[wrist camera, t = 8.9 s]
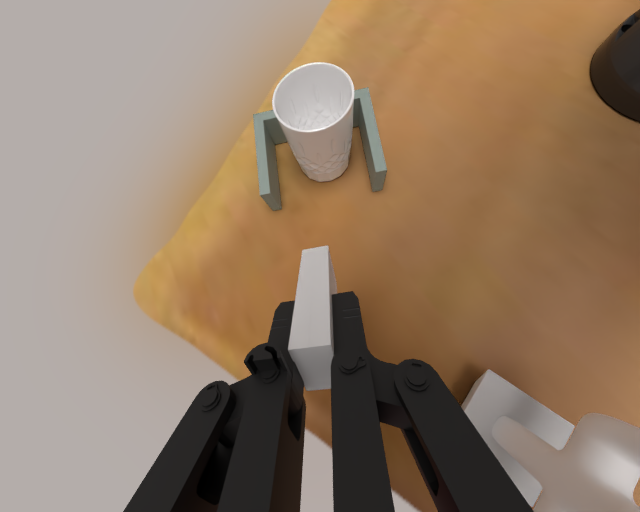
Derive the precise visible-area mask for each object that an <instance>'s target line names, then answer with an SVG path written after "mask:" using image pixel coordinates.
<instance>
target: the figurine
mask: <svg viewBox="0 0 640 512" xmlns="http://www.w3.org/2000/svg"><path fill="white" fill-rule="evenodd" d="M461 408H462V409H463V411H464V412H465V414H466V415H467V416H468V418H469V419H470V421H471V422H472V424H473V425H474V427H475V428H476V429H477V431H478V432H479V434H480V435H481V437H482V438H483V439H484V441H485V442H486V444H487V445H488V447H489V448H490V449H491V451H492V452H493V454H494V455H495V457H496V458H497V459H498V461H499V462H500V464H501V465H502V467H503V468H504V470H505V471H506V472H507V474H508V475H509V477H510V478H511V480H512V481H513V482H514V484H515V485H516V487H517V488H518V490H519V491H520V492H521V494H522V495H523V497H524V498H525V500H526V501H527V503H528V504H529V505H530V506H531V507H533V506H534V504H535V502H536V500H537V498H538V496H539V494H540V492H541V490H542V489H543V491H542V493H541V495H540V497H539V499H538V501H537V503H536V505H535V507H534V509H533V511H534V512H640V506H638V505H636V504H635V502H634V499H633V491H634V488H635V486H636V484H637V482H638V480H639V478H640V428H639V427H636V426H634V425H631V424H629V423H627V422H624V421H622V420H619V419H616V418H614V417H611V416H607V415H604V414H599V413H588V414H586V415H584V416H583V417H582V418H581V419H580V420H579V422H578V424H577V426H576V428H575V430H574V432H573V434H572V435H571V433H572V431H573V429H574V427H575V426H574V425H573V424H571V423H570V422H568V421H567V420H565V419H564V418H562V417H561V416H559V415H557V414H556V413H554V412H553V411H551V410H550V409H548V408H547V407H545V406H544V405H542V404H541V403H539V402H538V401H536V400H535V399H533V398H532V397H530V396H529V395H527V394H526V393H524V392H523V391H521V390H520V389H518V388H517V387H515V386H514V385H512V384H511V383H509V382H508V381H506V380H505V379H503V378H502V377H500V376H499V375H497V374H496V373H494V372H493V371H491V370H490V369H488V370H487V371H486V372H485V373H484V374H483V375H482V376H481V377H480V378H478V379H477V380H476V381H475V383H474V385H473V386H472V388H471V390H470V392H469V393H468V395H467V397H466V399H465V400H464V402H463V404H462V405H461ZM570 435H571V437H570ZM569 437H570V439H569V441H568V443H567V445H566V446H565V444H566V442H567V440H568V438H569ZM564 446H565V447H564Z"/></svg>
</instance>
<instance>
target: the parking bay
mask: <svg viewBox="0 0 640 512" xmlns="http://www.w3.org/2000/svg"><path fill="white" fill-rule="evenodd" d="M253 118H254V130H255V142H256V154H257V166H258V178H259V189H260V196H261V197H262V198H263V199H264V201H265V202H266V203H267V204H268V205H269V207H270V208H271V209H272V210H273V211H275V210H280V209H282V207H281V198H280V189H279V179H278V170H277V160H276V151H275V145H276V144H280V143H285V142H287V139H286V137H285V135H284V133H283V131H282V129H281V126H280V124H279V122H278V120H277V118H276V116H275V114H274V111H273V110H270V111H266V112H262V113H258V114H254V115H253ZM357 126H359V129H360V134H361V138H362V143H363V148H364V153H365V158H366V162H367V167H368V172H369V177H370V182H371V187H372V191H373V192H374V191H380V190H382V188H383V184H384V180H385V176H386V172H387V168H386V163H385V159H384V155H383V150H382V146H381V141H380V137H379V133H378V128H377V124H376V120H375V115H374V111H373V107H372V102H371V98H370V93H369V89H368V87H367V88H363V89H359V90H355V91H354V110H353V127H357Z"/></svg>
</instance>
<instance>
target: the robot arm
mask: <svg viewBox="0 0 640 512" xmlns="http://www.w3.org/2000/svg"><path fill="white" fill-rule="evenodd" d="M591 76H592V80H593V83H594V86H595V88H596V89H597V91H598V93H599V94H600V95H601V97H602V98H603V99H604V100H605V101H606V102H607V103H608V104H609V105H611V106H612V107H613V108H614V109H616V110H617V111H619V112H621V113H622V114H624V115H626V116H628V117H630V118H633V119H635V120H638V121H640V9H639V10H638V11H637V12H635V13H634V14H633V15H631V16H630V17H629V18H627V19H626V20H625V21H624V22H623V23H621V24H620V25H619V26H618V27H617V28H616V29H615V30H614V31H613V33H612V34H611V35H610V36H609V37H608V38H607V39H606V40H605V41H604V42H603V43H602V44H601V45H600V46H599V48H598V49H597V51H596V52H595V54H594V57H593V59H592V63H591ZM244 363H245V365H246V366H247V368H248V369H249V371H250V372H251V374H252V375H251V376H249V377H247V378H245V379H243V380H241V381H238V382H236V383H234V384H232V385H228V384H227V383H226V382H224V381H215V382H213V383H210V384H208V385H207V386H206V387H204V388H203V389H202V390H201V391H200V392H199V394H198V395H197V396H196V398H195V399H194V401H193V402H192V404H191V406H190V407H189V409H188V410H187V412H186V413H185V415H184V417H183V418H182V420H181V421H180V423H179V424H178V426H177V428H176V429H175V431H174V432H173V434H172V435H171V437H170V439H169V440H168V442H167V444H166V445H165V447H164V448H163V450H162V451H161V453H160V454H159V456H158V458H157V459H156V461H155V463H154V464H153V466H152V467H151V469H150V470H149V472H148V473H147V475H146V477H145V478H144V480H143V481H142V483H141V484H140V486H139V488H138V489H137V491H136V492H135V494H134V496H133V497H132V499H131V500H130V502H129V504H128V505H127V507H126V508H125V510H124V511H123V512H300V500H301V483H302V466H303V447H304V431H305V414H306V404H305V400H304V398H303V389H304V386H305V388H306V390H307V391H311V390H321V389H331V406H332V453H333V498H334V499H333V500H334V512H395V510H394V505H393V499H392V493H391V487H390V481H389V475H388V469H387V463H386V457H385V452H384V446H383V440H382V434H381V428H380V422H382V423H386V424H389V425H392V426H395V427H399V428H401V431H402V433H403V435H404V437H405V439H406V442H407V444H408V446H409V448H410V450H411V453H412V455H413V457H414V459H415V461H416V464H417V466H418V468H419V470H420V472H421V475H422V477H423V479H424V481H425V483H426V486H427V488H428V490H429V492H430V494H431V497H432V499H433V501H434V503H435V505H436V508H437V510H438V512H534V511H533V510H532V508H531V507H530V505H529V504H528V503H527V501H526V500H525V498H524V497H523V495H522V494H521V492H520V491H519V490H518V488H517V487H516V485H515V484H514V482H513V481H512V480H511V478H510V477H509V475H508V474H507V472H506V471H505V470H504V468H503V467H502V465H501V464H500V462H499V461H498V459H497V458H496V457H495V455H494V454H493V452H492V451H491V449H490V448H489V447H488V445H487V444H486V442H485V441H484V439H483V438H482V437H481V435H480V434H479V432H478V431H477V429H476V428H475V427H474V425H473V424H472V422H471V421H470V419H469V418H468V416H467V415H466V414H465V412H464V411H463V409H462V408H461V406H460V405H459V404H458V402H457V401H456V399H455V398H454V396H453V395H452V394H451V392H450V391H449V389H448V388H447V386H446V385H445V384H444V382H443V381H442V379H441V378H440V376H439V375H438V373H437V372H436V371H435V370H434V369H433V368H432V367H431V366H430V365H429V364H427V363H425V362H423V361H421V360H416V359H409V360H404V361H403V362H401V363H399V364H398V365H395V364H391V363H386V362H383V361H380V360H378V359H376V358H375V357H374V356H373V355H372V354H370V352H369V350H368V349H367V345H366V341H365V335H364V329H363V323H362V318H361V312H360V306H359V300H358V298H357V296H356V295H355V294H354V293H353V291H351V292H345V293H338V294H337V285H336V278H335V274H334V270H333V265H332V261H331V256H330V252H329V247H328V246H322V247H316V248H311V249H305V250H303V251H302V257H301V264H300V271H299V278H298V284H297V291H296V298H295V301H289V302H282V303H280V305H279V306H278V308H277V309H276V311H275V314H274V318H273V322H272V326H271V331H270V335H269V339H268V343H264V344H260V345H258V346H257V347H255V348H253V349H252V350H251V351H250V352H249V353H248V355H247V356H246V358H245V360H244Z"/></svg>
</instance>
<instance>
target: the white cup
mask: <svg viewBox="0 0 640 512" xmlns="http://www.w3.org/2000/svg"><path fill="white" fill-rule="evenodd" d="M272 106H273V111H274V114H275V116H276V118H277V120H278V122H279V124H280V126H281V129H282V131H283V133H284V135H285V137H286V139H287V142H288V144H289V146H290V148H291V150H292V151H293V154H294V156H295V158H296V159H297V161H298V162H299V165H300V167H301V169H302V171H303V172H304V173H305V174H306V175H307V176H308V177H309V178H310V179H313V180H315V181H318V182H324V181H332V180H333V179H335V178H337V177H339V176H341V175H342V173H343V172H344V171H345V170H346V168H347V167H348V163H349V158H350V149H351V140H352V129H353V110H354V85H353V82H352V80H351V78H350V76H349V75H348V74H347V73H346V72H345V71H344V70H343V69H341V68H340V67H338V66H336V65H333V64H330V63H323V62H316V63H309V64H305V65H302V66H300V67H297V68H295V69H294V70H292V71H291V72H289V73H288V74H287V75H286V76H284V77H283V78H282V80H281V81H280V82H279V84H278V85H277V87H276V89H275V91H274V94H273V99H272Z"/></svg>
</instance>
